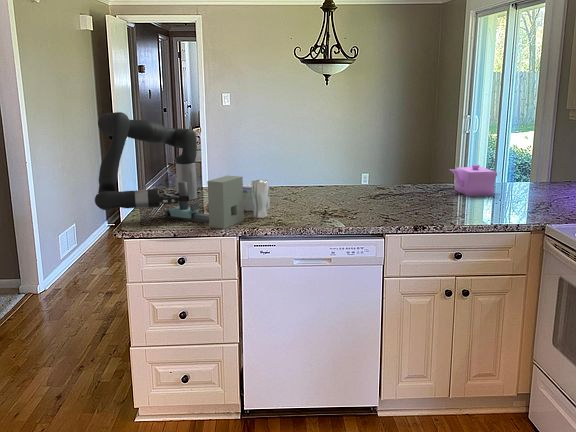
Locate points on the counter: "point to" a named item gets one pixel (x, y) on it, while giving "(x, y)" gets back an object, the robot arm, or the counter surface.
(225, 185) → the end cabinet
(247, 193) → the light bulb box
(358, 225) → the counter surface
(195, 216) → the rail
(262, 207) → the beer glass
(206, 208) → the gauge plunger
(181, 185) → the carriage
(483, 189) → the teapot
